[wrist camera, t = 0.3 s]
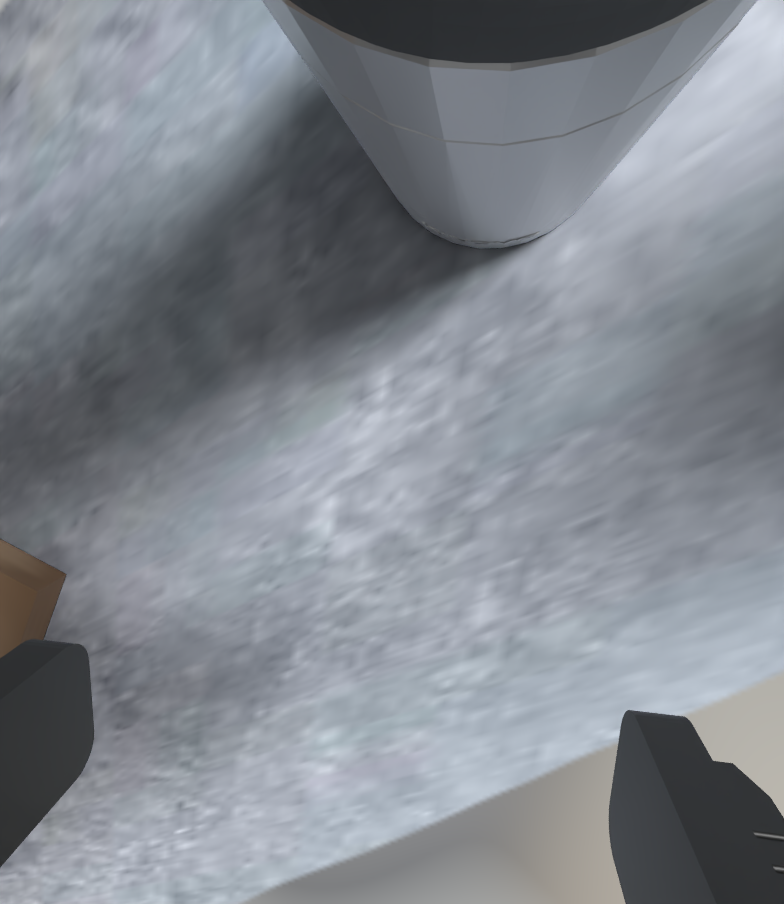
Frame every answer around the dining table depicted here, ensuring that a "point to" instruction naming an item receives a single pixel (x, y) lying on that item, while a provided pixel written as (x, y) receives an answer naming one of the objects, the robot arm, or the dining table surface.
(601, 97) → the robot arm
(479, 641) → the dining table surface
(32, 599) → the stand
